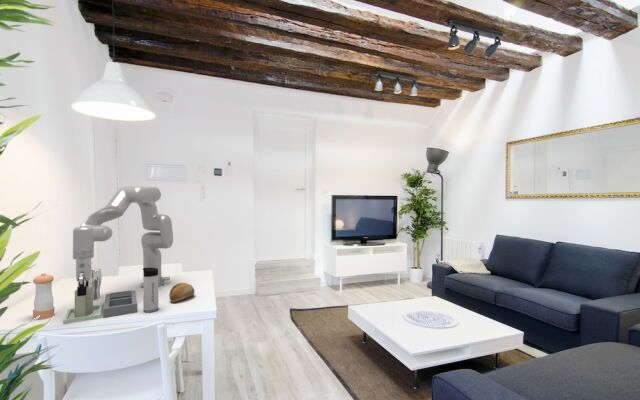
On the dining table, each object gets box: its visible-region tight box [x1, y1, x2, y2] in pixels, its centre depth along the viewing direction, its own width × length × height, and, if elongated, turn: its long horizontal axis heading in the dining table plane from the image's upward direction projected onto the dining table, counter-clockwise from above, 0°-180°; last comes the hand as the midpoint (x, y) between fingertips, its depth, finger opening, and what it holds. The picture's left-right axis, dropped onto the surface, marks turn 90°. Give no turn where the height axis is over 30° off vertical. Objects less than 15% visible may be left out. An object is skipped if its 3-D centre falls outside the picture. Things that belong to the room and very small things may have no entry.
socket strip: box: [102, 289, 138, 319], centre depth 156 cm, size 13×24×5 cm, turn 32°
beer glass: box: [88, 268, 103, 302], centre depth 166 cm, size 7×7×15 cm
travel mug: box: [142, 268, 159, 313], centre depth 151 cm, size 6×7×20 cm
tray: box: [62, 303, 103, 325], centre depth 145 cm, size 13×15×2 cm
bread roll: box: [168, 282, 195, 303], centre depth 168 cm, size 10×15×8 cm, turn 164°
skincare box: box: [74, 287, 94, 318], centre depth 145 cm, size 6×4×12 cm
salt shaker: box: [32, 273, 55, 321], centre depth 143 cm, size 7×7×19 cm
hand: (83, 292), depth 144 cm, fingers open, 9 cm apart
